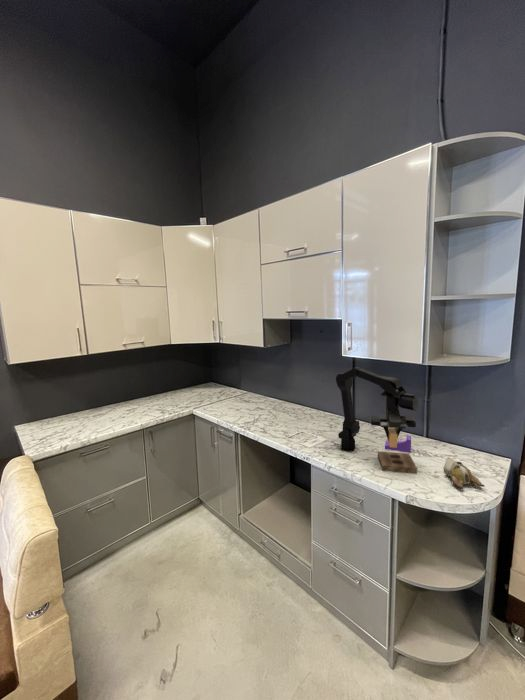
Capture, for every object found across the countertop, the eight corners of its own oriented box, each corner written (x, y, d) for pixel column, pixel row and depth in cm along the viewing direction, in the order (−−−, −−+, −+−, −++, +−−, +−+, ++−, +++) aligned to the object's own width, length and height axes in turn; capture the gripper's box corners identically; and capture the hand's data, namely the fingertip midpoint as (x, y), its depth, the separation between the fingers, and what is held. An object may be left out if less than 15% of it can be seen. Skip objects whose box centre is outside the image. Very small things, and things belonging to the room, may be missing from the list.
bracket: (410, 447, 158) (410, 435, 158) (410, 453, 152) (411, 440, 151) (385, 444, 163) (385, 431, 163) (384, 449, 157) (385, 436, 156)
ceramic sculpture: (460, 452, 132) (487, 472, 117) (458, 471, 134) (485, 492, 119) (436, 454, 131) (461, 474, 117) (435, 472, 133) (459, 494, 118)
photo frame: (309, 447, 160) (285, 437, 173) (309, 449, 160) (285, 439, 173) (327, 439, 169) (302, 430, 183) (327, 441, 169) (302, 432, 183)
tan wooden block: (389, 447, 136) (390, 433, 136) (387, 440, 144) (387, 427, 143) (397, 448, 136) (397, 434, 135) (393, 441, 143) (394, 427, 143)
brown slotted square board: (382, 470, 136) (382, 465, 135) (377, 456, 149) (377, 451, 149) (416, 473, 133) (417, 468, 132) (408, 458, 146) (408, 453, 146)
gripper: (372, 410, 133) (372, 445, 134) (419, 412, 128) (418, 448, 130) (369, 403, 143) (369, 435, 145) (413, 405, 139) (412, 438, 141)
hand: (392, 439), depth 140 cm, fingers closed on tan wooden block, 3 cm apart
